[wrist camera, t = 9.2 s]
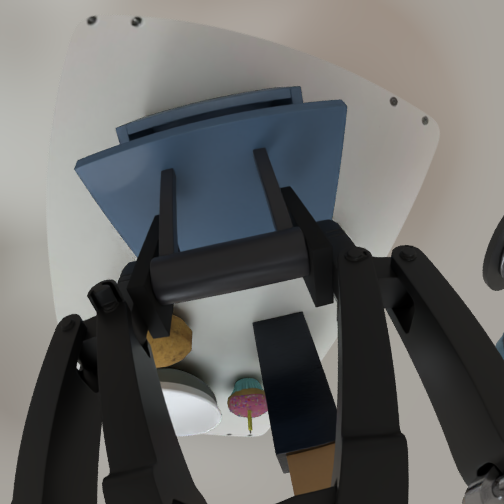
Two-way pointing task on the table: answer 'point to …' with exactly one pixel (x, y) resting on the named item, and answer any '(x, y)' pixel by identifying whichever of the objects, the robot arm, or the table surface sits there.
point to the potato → (172, 344)
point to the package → (311, 469)
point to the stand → (294, 387)
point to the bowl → (189, 402)
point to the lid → (222, 195)
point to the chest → (209, 111)
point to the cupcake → (247, 400)
